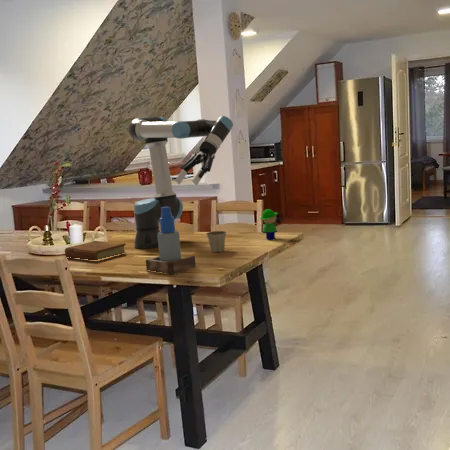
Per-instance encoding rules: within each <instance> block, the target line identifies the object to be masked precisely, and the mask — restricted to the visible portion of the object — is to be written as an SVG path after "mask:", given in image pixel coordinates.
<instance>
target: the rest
mask: <svg viewBox="0 0 450 450" xmlns="http://www.w3.org/2000/svg"><path fill="white" fill-rule="evenodd" d="M196 264H197V263H196V256H195V255H189V256H186V257H183V258H182V257H181V259H179V260H176V261H172V262H167V261H160V256H159V255H158V256H155V257H152V258H148V259H145V267H146V271H147V270H150V271H156V272H162V273H166V274H165V275H168V274H170V275H169V276H172V274H173V275H175V273H176V274H178V273H182V272H185V271H189V270H191V269H194V268H196V267H197V265H196ZM156 272H155V273H156ZM162 273H161V274H162Z"/></svg>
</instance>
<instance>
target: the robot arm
mask: <svg viewBox="0 0 450 450" xmlns="http://www.w3.org/2000/svg"><path fill="white" fill-rule="evenodd" d="M233 127H234V123H233V121H232V119H230V118H229V117H227V116H225V115H221V116H219V117H218V119H217V120H210V119H204V118H203V119H200V118H199V119H196V120H186V121H183V120H181V121H176V120H175V121H168V120H167V119H166V118H165V117H163V116H148V117H136V118H134V119H133V120H131V121H130V123H129V124H128V127H127V130H128V134H129V136H130V137H131V139H132V140H135V141H138V142H139V141H140V142H144V144H145V146H146V147H148V149H149V155H150V157H149V158H150V161H151V168H152V174H153V181H154V187H155V195H154V197H153V198H146V199H142V200H138V201H136V202H135V203H134V207H133V214H134V219H135V229H136V232H135V233H136V234H135V238H134V242H133V245H134V246H133V247H134V248H135V249H139V248H140V250H141V249H155V248H159V246H158V236H157V235H158V232H161V230H160V219H159V218H161V213H162V209H161V207H170V210H171V213H172V216H173V217H174V221H175V220H178V219H179V218H180V217H181V215H182V214H183V209H184V205H183V201H182V200H181V199H180V197H177V193H176V192H175V191H174V190H173V184H172V179H171V171H170V167H169V159H168V153H167V152H168V151H167V147H166V145H167V144H168V142H169V140H168V139H171V138H172V139H173V138H174V139H188V138H189V139H190V138H199V137H204V140H203V142H202V143H201V144H200V146H199V149H198V150H199V152H198V153H196V152H194V153H193V154H192V155H191V157H189V158H188V160H186V161H185V162H184V163H183V164H182V165H181V166H180V169H181V171H180V172H179V174H178V175H177V177H176V178H175V180H174V181H175V182H176V183H177V184H178V185H181V183H182V182H183V180H184V179H185V178H186V176H187V174H188V172H189V171H190V170H191V169H192V168H194V167H196V165H200V164H201V167H200V169H199V170H198V172H197V174H196V175H195V176H194V178H193V179H192V180H191V182H192V183H193V184H194V185H195V186H198V184H199V183H200V182H201V180H202V179H203V177H204V175H205V174H207V173H209V172H211V169H212V167H213V166H212V165H213V163H214V159H215V157H216V155H215V154H216V153H217V151H218V150H219V149H220V148H221V145H222V144H223V142H224V141H225V139H226V138H227V137H228V135H229V133H230V132H231V130H232V128H233Z"/></svg>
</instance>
